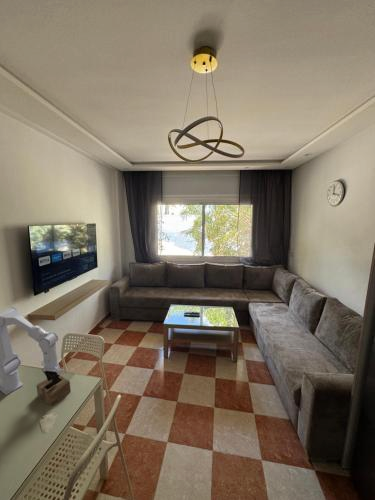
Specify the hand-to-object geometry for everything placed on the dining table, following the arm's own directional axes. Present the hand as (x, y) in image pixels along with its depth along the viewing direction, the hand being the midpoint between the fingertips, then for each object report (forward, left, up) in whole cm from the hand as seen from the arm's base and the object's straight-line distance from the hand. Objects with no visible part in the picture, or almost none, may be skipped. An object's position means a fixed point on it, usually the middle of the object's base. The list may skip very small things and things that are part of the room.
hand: (53, 381), depth 115 cm
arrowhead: (+14, -11, -8) cm, 19 cm away
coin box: (0, 0, -7) cm, 7 cm away
